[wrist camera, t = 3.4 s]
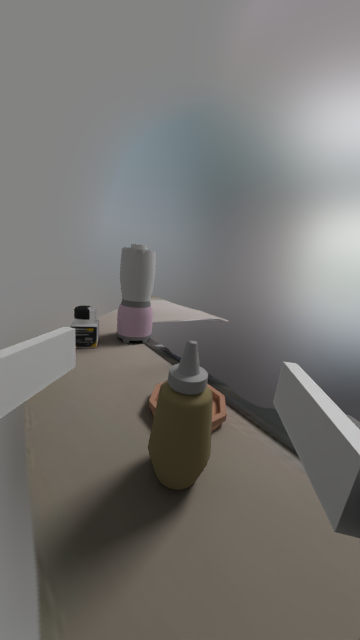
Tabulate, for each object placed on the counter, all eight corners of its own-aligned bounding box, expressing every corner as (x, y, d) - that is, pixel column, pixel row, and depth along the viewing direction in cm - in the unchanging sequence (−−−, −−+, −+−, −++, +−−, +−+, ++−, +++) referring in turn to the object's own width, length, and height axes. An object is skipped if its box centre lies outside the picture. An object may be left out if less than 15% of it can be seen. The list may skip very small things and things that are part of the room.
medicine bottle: (70, 348, 62) (70, 308, 59) (75, 340, 68) (74, 303, 65) (96, 348, 64) (97, 309, 61) (98, 340, 70) (98, 305, 67)
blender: (154, 344, 72) (161, 246, 64) (117, 344, 68) (120, 241, 60) (146, 330, 86) (152, 249, 79) (116, 330, 82) (118, 245, 75)
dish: (221, 394, 46) (223, 385, 46) (226, 444, 33) (228, 432, 32) (160, 383, 48) (161, 374, 48) (140, 426, 35) (141, 415, 34)
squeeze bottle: (135, 487, 25) (144, 347, 21) (158, 438, 33) (169, 328, 28) (201, 512, 23) (227, 364, 19) (209, 453, 31) (229, 338, 27)
